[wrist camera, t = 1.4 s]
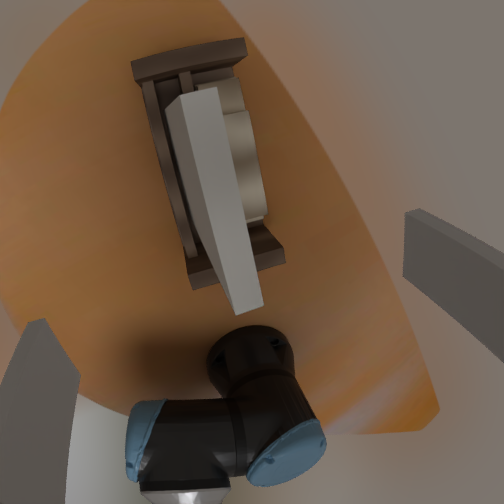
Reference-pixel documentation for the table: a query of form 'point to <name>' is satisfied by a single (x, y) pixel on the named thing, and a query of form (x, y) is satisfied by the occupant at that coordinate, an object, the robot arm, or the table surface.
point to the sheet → (214, 193)
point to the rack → (156, 101)
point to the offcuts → (241, 146)
